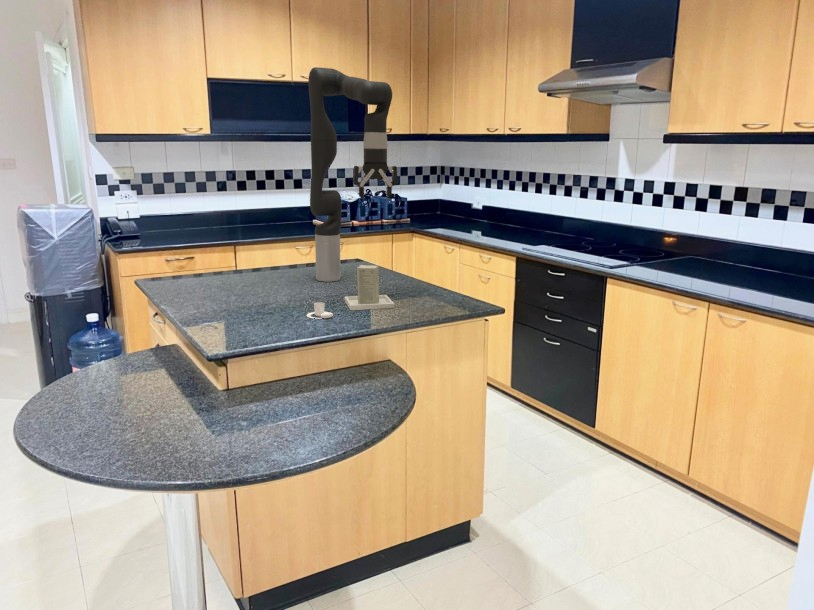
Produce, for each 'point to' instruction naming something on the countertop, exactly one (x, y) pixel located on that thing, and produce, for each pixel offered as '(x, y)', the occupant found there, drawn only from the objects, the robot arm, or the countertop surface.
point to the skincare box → (368, 284)
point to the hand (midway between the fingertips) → (375, 198)
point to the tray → (382, 304)
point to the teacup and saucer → (320, 311)
